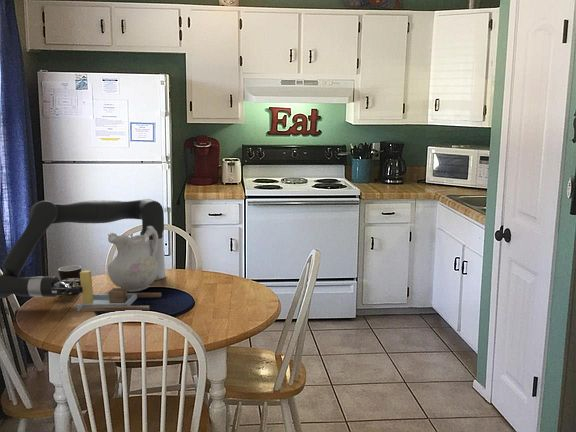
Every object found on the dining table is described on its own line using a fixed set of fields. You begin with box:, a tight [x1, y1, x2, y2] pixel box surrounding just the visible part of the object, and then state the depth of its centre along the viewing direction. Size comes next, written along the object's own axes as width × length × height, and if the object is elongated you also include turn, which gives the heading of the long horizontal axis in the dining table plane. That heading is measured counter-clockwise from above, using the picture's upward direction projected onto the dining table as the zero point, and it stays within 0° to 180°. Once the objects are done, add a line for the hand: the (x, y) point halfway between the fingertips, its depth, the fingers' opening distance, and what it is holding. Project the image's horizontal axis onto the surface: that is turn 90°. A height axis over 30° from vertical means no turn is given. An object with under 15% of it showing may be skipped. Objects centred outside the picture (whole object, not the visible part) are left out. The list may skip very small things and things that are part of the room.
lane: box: [80, 292, 162, 312], centre depth 244 cm, size 18×24×2 cm
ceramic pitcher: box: [107, 225, 159, 293], centre depth 263 cm, size 22×20×25 cm
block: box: [108, 287, 128, 303], centre depth 244 cm, size 5×5×5 cm
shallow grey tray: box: [76, 269, 138, 312], centre depth 244 cm, size 13×18×13 cm
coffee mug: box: [57, 265, 82, 296], centre depth 264 cm, size 12×9×10 cm
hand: (86, 286), depth 244 cm, fingers open, 8 cm apart
